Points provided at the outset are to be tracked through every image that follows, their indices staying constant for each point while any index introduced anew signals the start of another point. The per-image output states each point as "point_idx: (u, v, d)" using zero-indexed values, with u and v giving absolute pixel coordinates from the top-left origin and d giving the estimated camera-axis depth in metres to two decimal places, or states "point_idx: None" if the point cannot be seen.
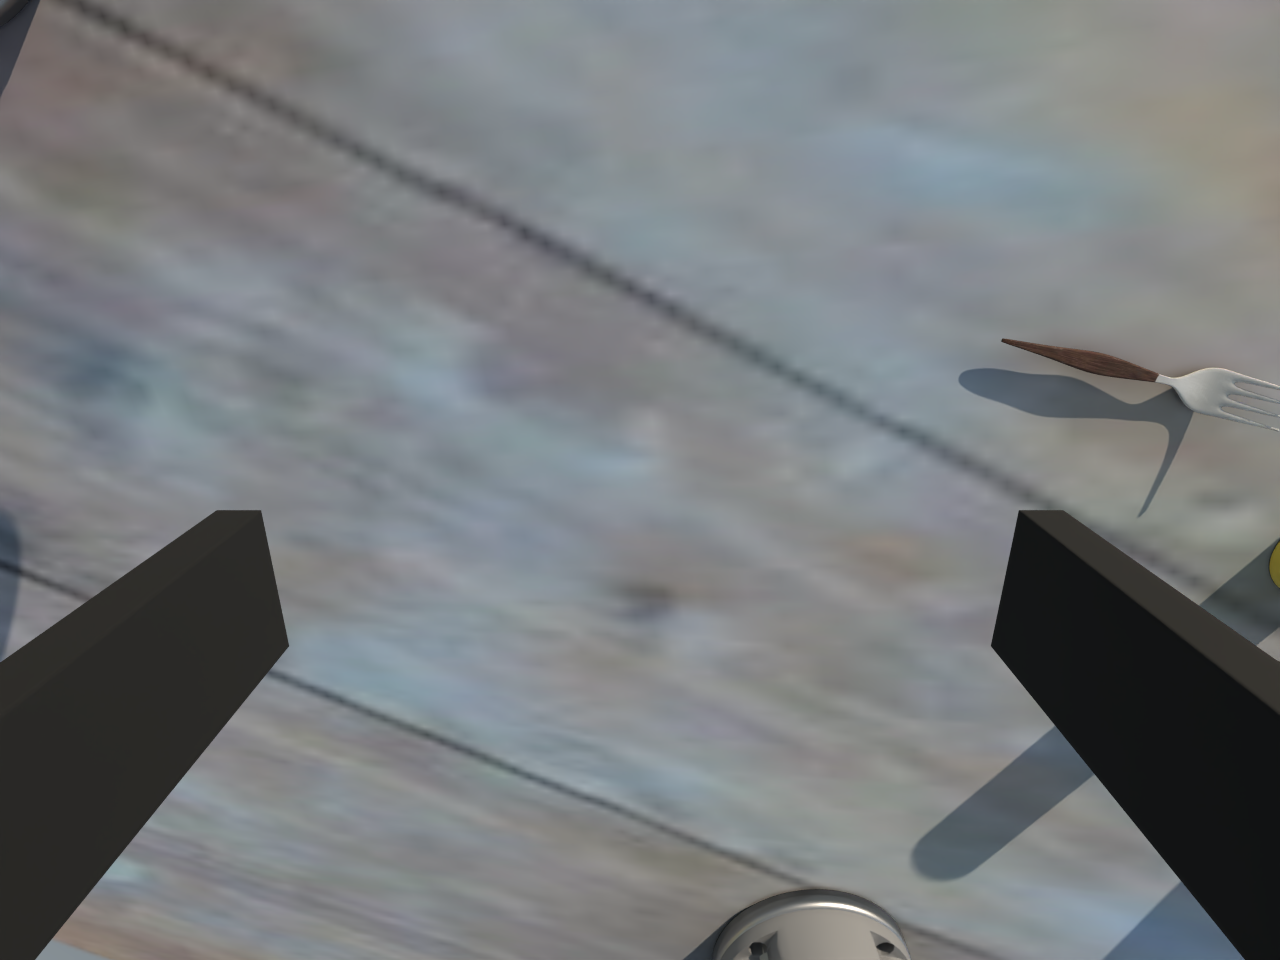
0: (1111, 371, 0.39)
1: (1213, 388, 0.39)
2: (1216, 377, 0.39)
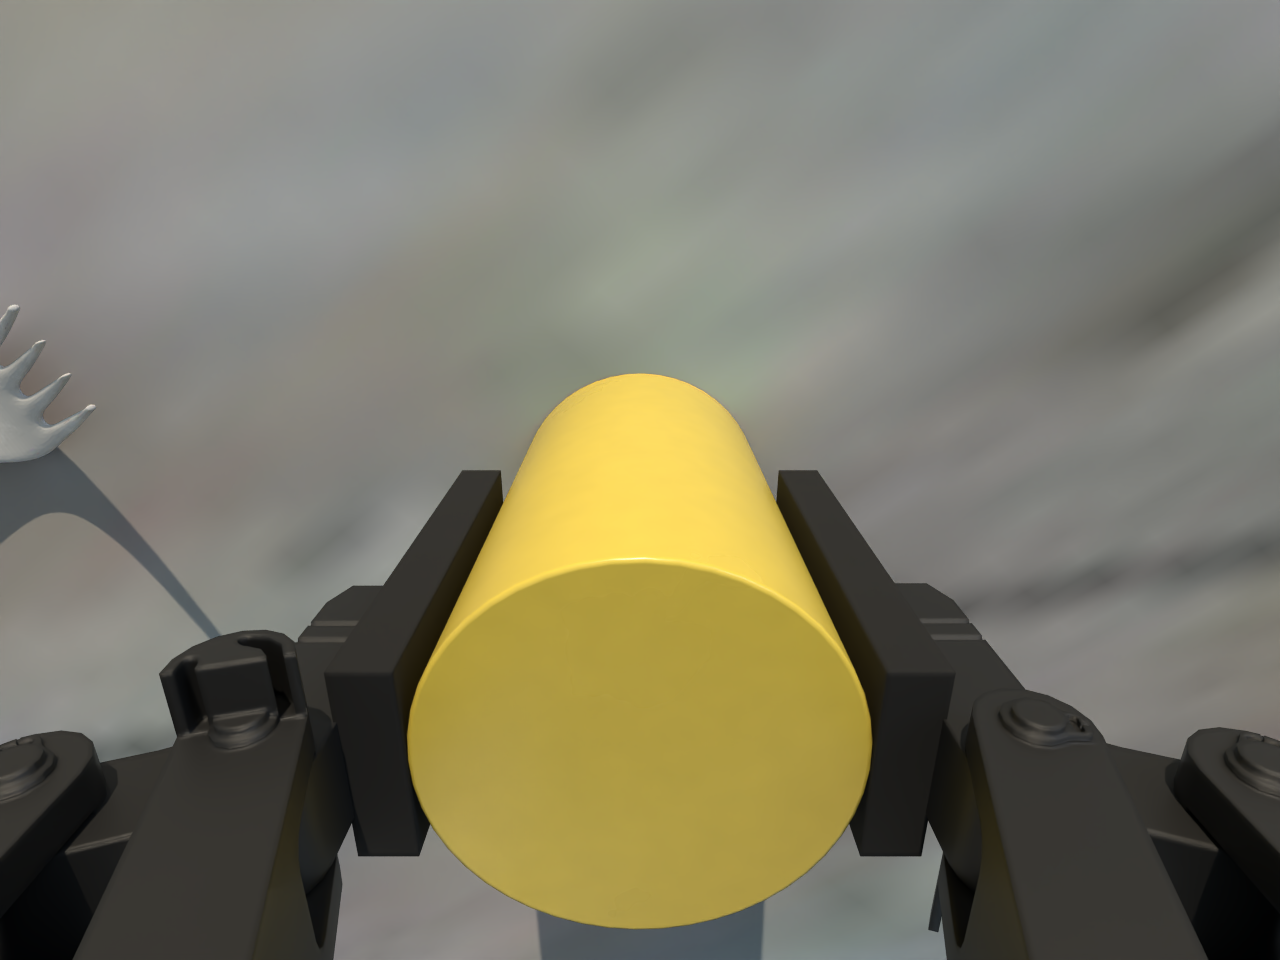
0: None
1: None
2: None
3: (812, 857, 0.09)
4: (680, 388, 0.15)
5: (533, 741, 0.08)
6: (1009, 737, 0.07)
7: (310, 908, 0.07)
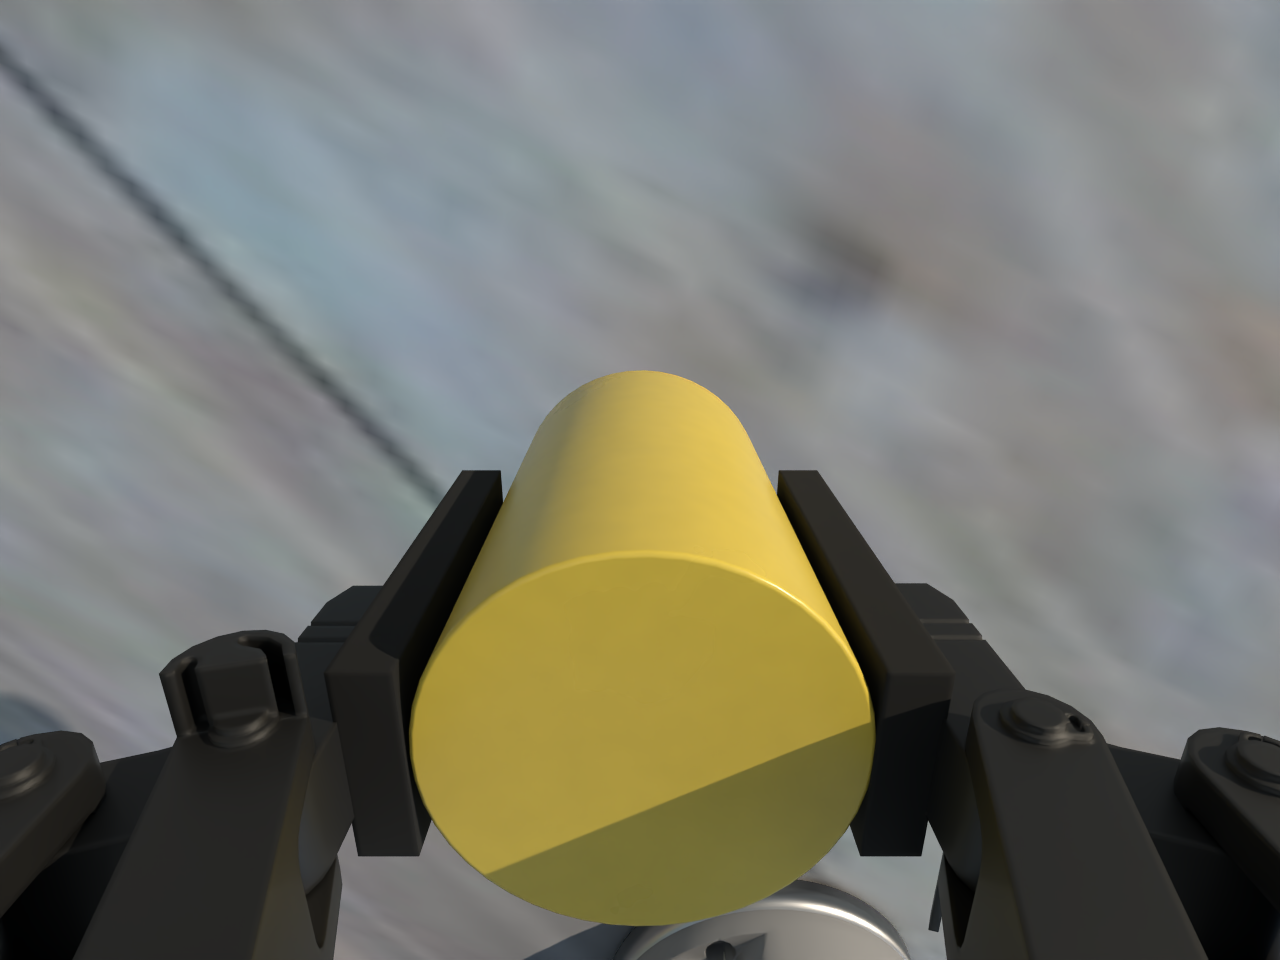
0: None
1: None
2: None
3: (816, 854, 0.09)
4: (682, 385, 0.15)
5: (536, 736, 0.08)
6: (1009, 737, 0.07)
7: (310, 908, 0.07)
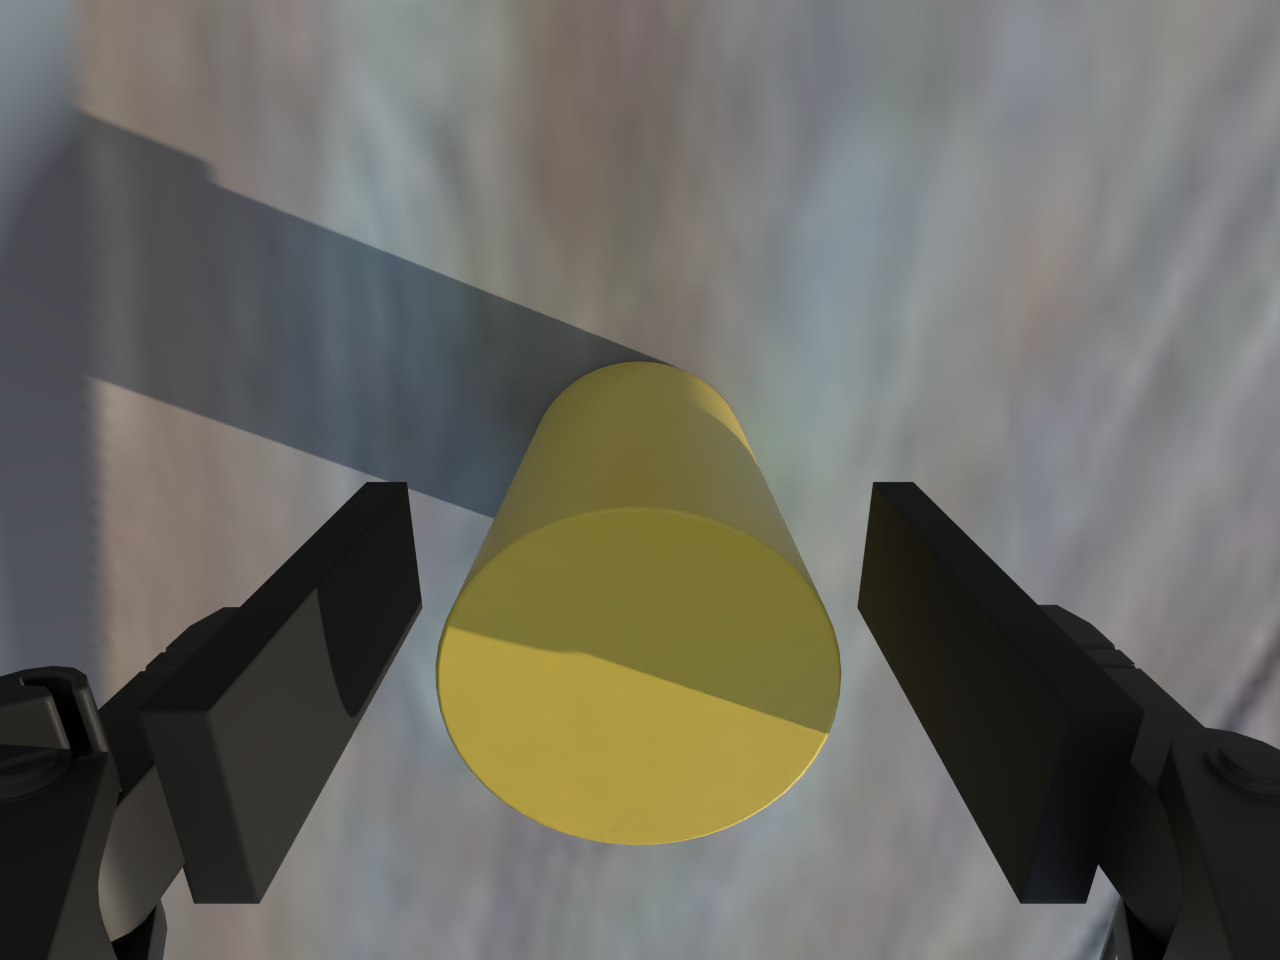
0: None
1: None
2: None
3: (790, 778, 0.10)
4: (676, 374, 0.16)
5: (546, 671, 0.09)
6: (1217, 780, 0.06)
7: (126, 958, 0.07)
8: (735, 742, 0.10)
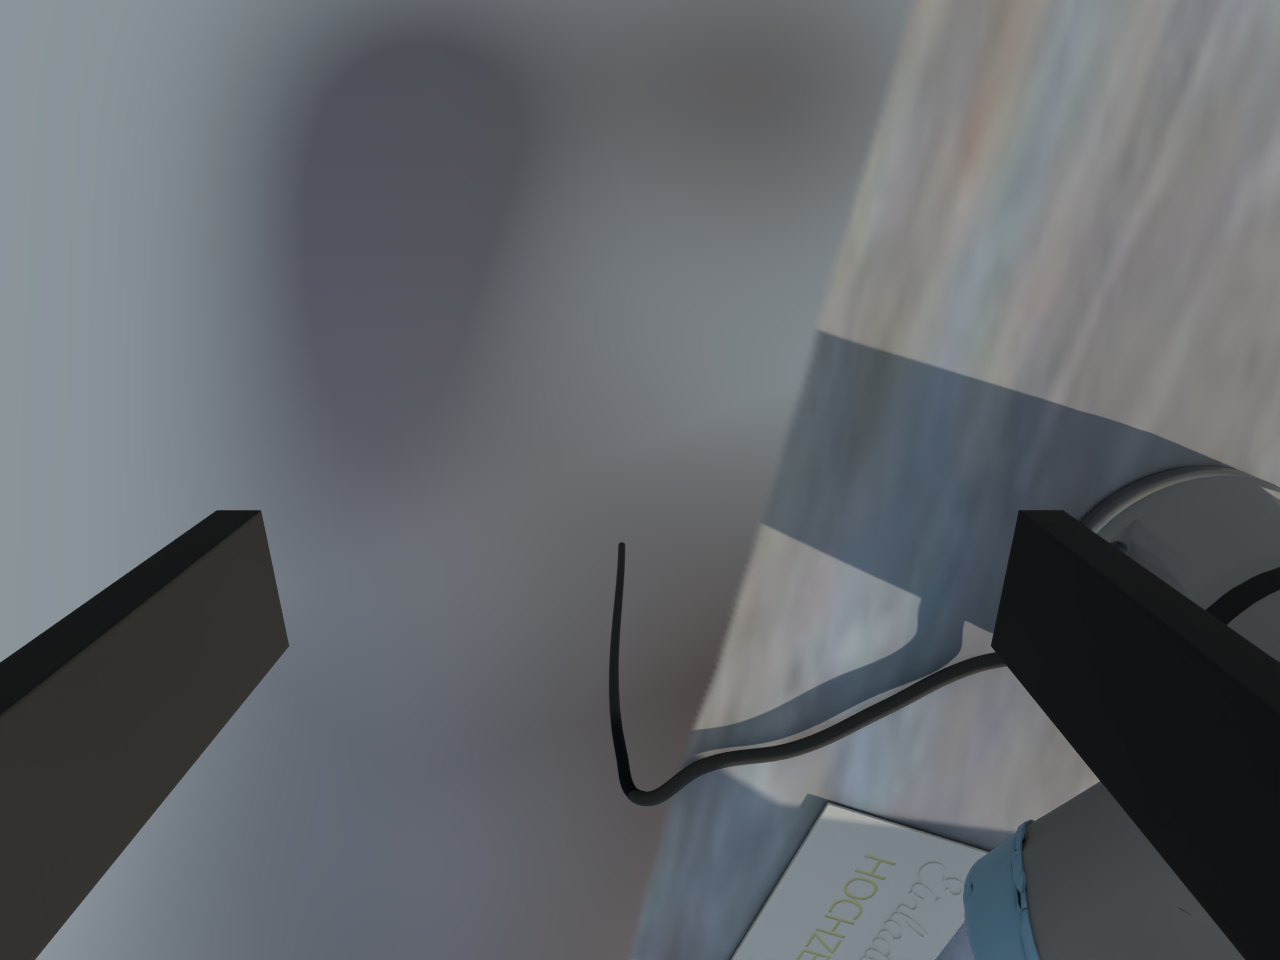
0: None
1: None
2: None
3: None
4: None
5: None
6: None
7: None
8: None
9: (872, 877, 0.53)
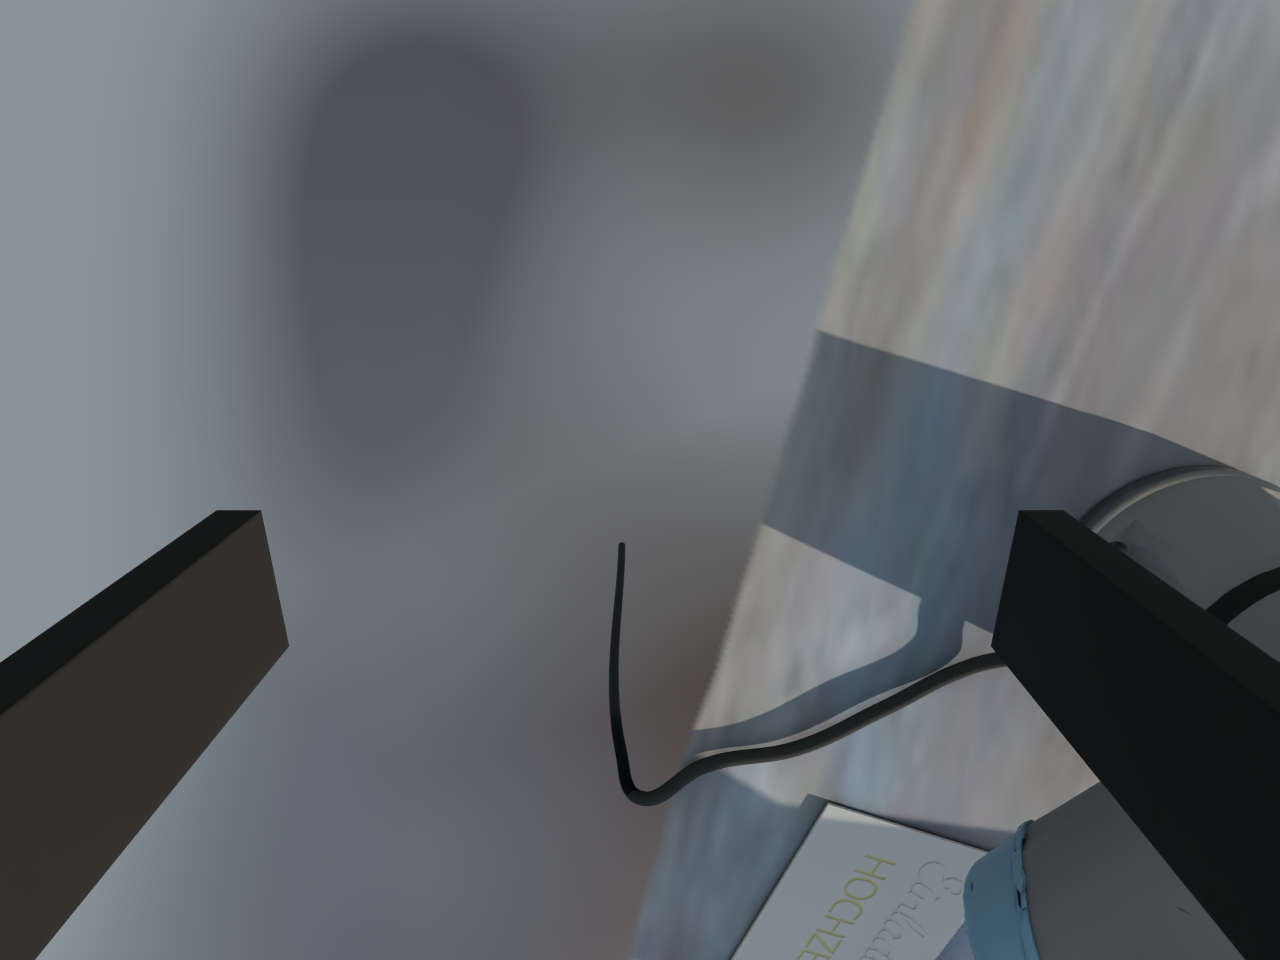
0: None
1: None
2: None
3: None
4: None
5: None
6: None
7: None
8: None
9: (872, 877, 0.53)
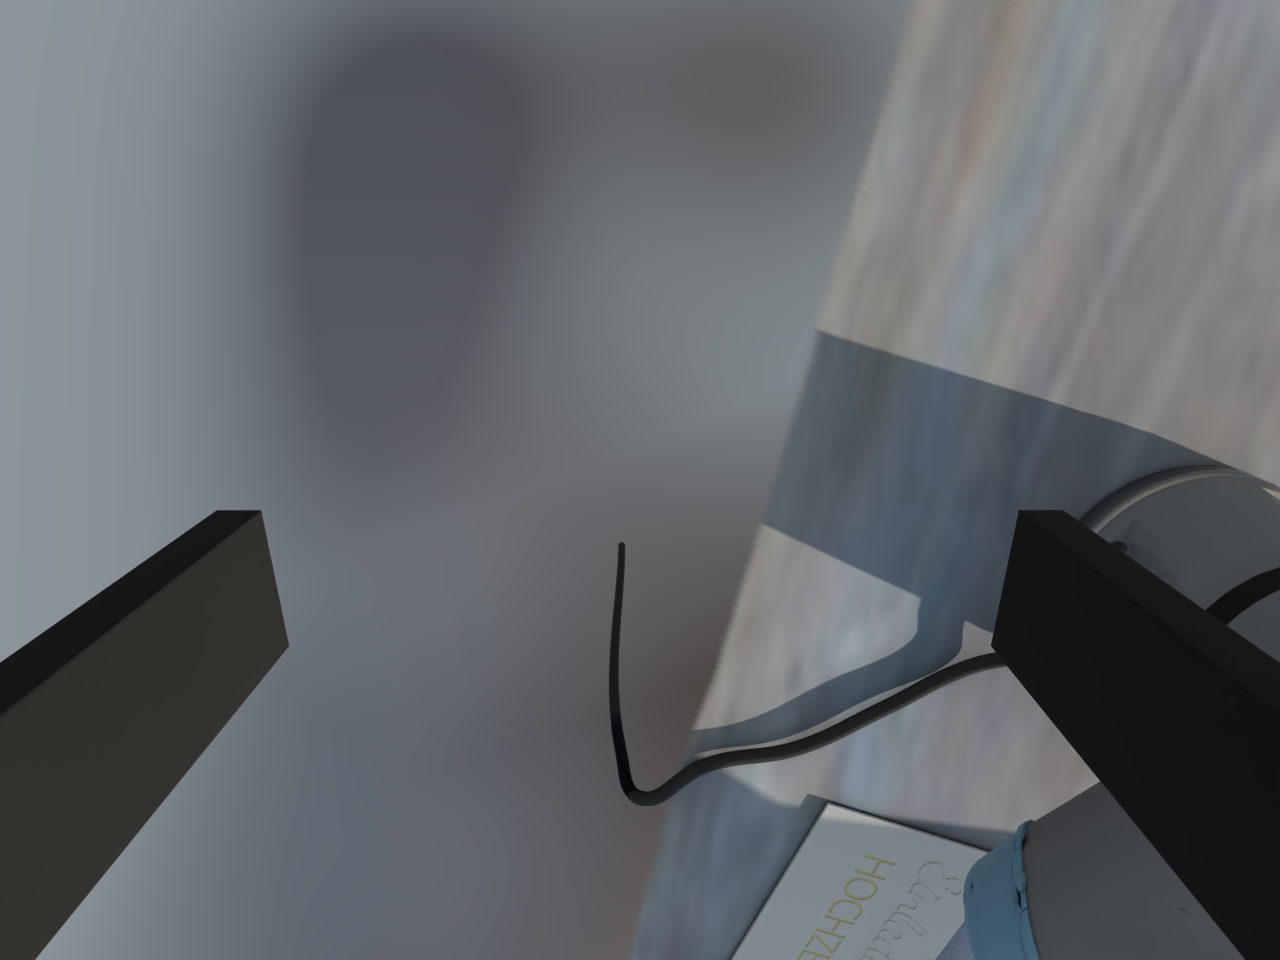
0: None
1: None
2: None
3: None
4: None
5: None
6: None
7: None
8: None
9: (872, 877, 0.53)
